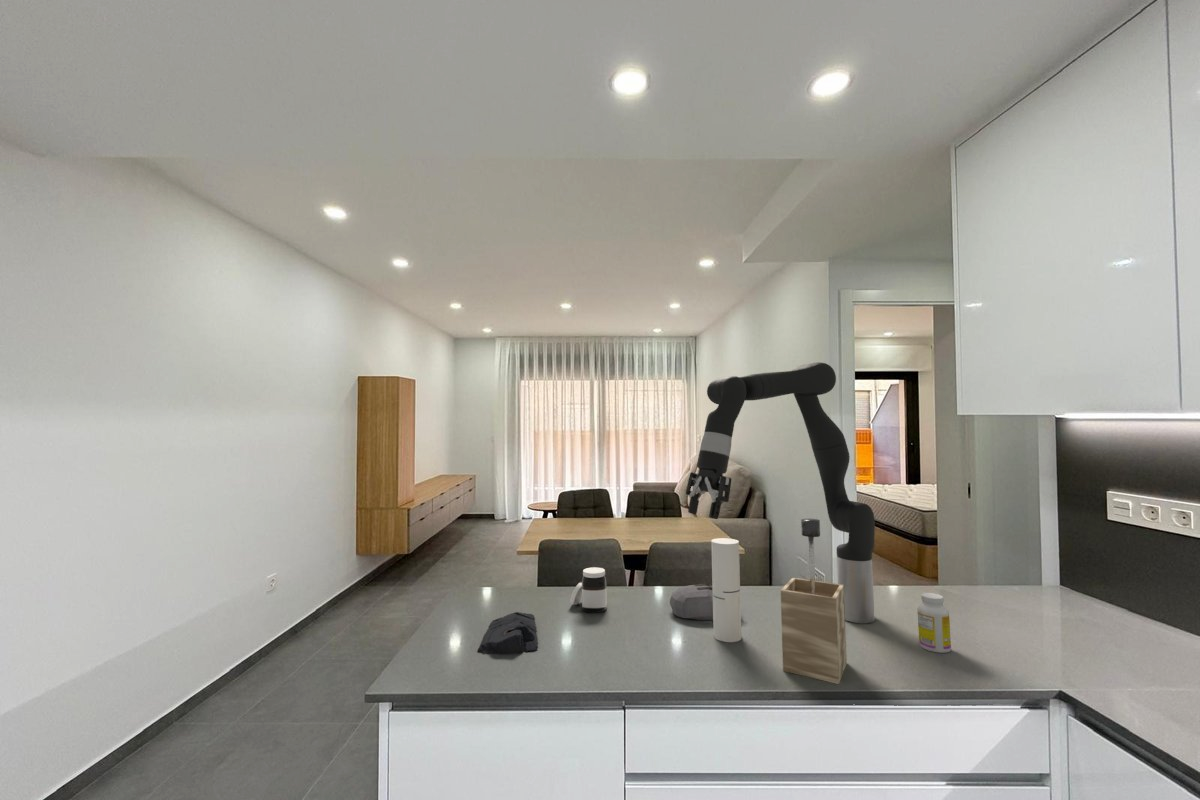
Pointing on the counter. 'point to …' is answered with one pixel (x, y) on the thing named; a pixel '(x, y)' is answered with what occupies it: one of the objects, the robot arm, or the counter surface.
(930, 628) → the supplement bottle
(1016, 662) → the counter surface
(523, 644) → the dark slate chunk
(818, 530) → the plunger
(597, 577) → the spread jar
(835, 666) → the wooden utensil holder
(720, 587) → the cylindrical container
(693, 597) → the grey rounded bag
